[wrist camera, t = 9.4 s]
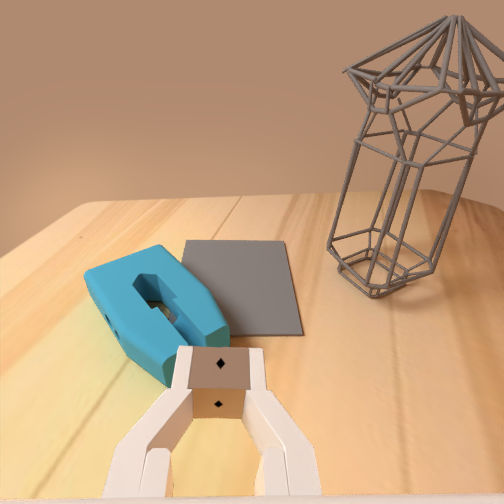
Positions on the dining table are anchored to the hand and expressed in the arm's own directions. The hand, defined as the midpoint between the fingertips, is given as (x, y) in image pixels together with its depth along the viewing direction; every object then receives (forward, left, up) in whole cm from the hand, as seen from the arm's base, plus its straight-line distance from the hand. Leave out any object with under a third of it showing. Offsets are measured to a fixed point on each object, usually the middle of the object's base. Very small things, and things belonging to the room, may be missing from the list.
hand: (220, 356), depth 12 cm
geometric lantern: (+23, +33, -24) cm, 47 cm away
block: (-3, +15, -21) cm, 26 cm away
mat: (+1, +32, -24) cm, 40 cm away
